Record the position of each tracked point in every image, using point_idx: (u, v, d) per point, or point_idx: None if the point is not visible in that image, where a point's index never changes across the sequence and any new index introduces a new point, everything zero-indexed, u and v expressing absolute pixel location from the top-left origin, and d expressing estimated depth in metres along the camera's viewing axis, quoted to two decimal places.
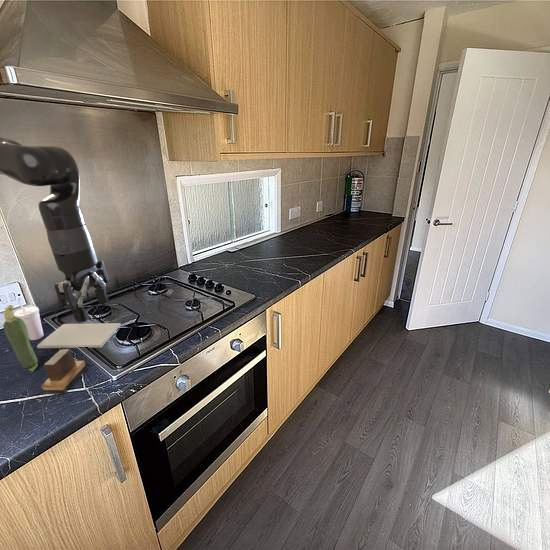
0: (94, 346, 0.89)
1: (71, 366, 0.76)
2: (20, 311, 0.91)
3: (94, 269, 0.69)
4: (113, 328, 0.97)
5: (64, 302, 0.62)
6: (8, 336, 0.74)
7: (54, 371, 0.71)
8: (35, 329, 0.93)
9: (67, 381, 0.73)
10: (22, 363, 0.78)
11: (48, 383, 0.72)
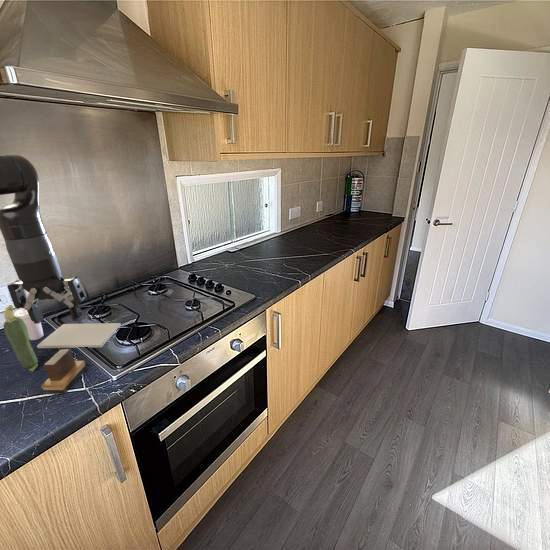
0: (94, 346, 0.89)
1: (71, 366, 0.76)
2: (20, 311, 0.91)
3: (55, 285, 0.64)
4: (113, 328, 0.97)
5: (22, 298, 0.67)
6: (8, 336, 0.74)
7: (54, 371, 0.71)
8: (35, 329, 0.93)
9: (67, 381, 0.73)
10: (22, 363, 0.78)
11: (48, 383, 0.72)
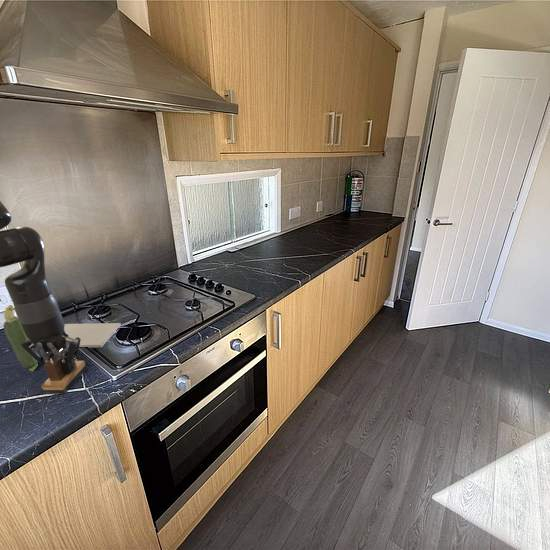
0: (94, 346, 0.89)
1: None
2: None
3: (58, 340, 0.70)
4: (113, 328, 0.97)
5: None
6: (8, 336, 0.74)
7: (54, 371, 0.71)
8: None
9: (67, 381, 0.73)
10: (22, 363, 0.78)
11: (48, 383, 0.72)
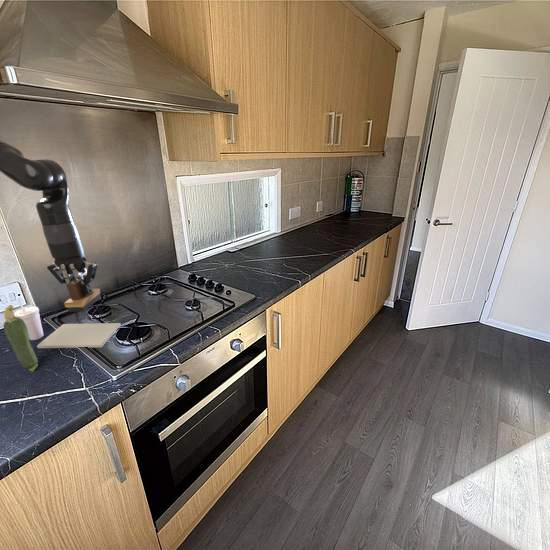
0: (94, 346, 0.89)
1: None
2: (20, 311, 0.91)
3: (79, 262, 0.81)
4: (113, 328, 0.97)
5: None
6: (8, 336, 0.74)
7: (75, 290, 0.82)
8: (35, 329, 0.93)
9: (86, 301, 0.84)
10: (22, 363, 0.78)
11: (69, 301, 0.83)
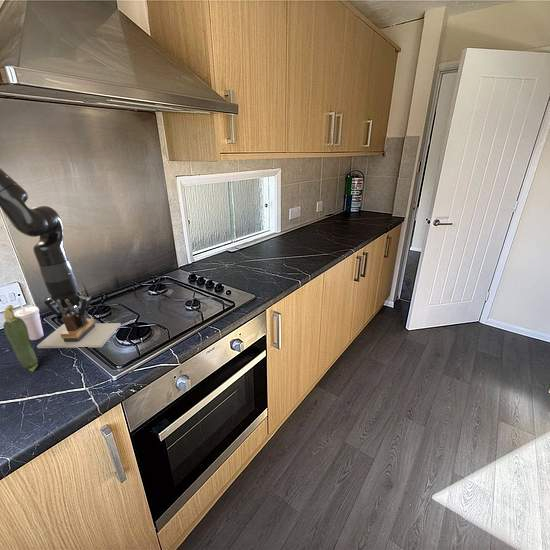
0: (94, 346, 0.89)
1: None
2: (20, 311, 0.91)
3: (73, 297, 0.88)
4: (113, 328, 0.97)
5: None
6: (8, 336, 0.74)
7: (70, 323, 0.89)
8: (35, 329, 0.93)
9: (80, 332, 0.91)
10: (22, 363, 0.78)
11: (65, 332, 0.90)
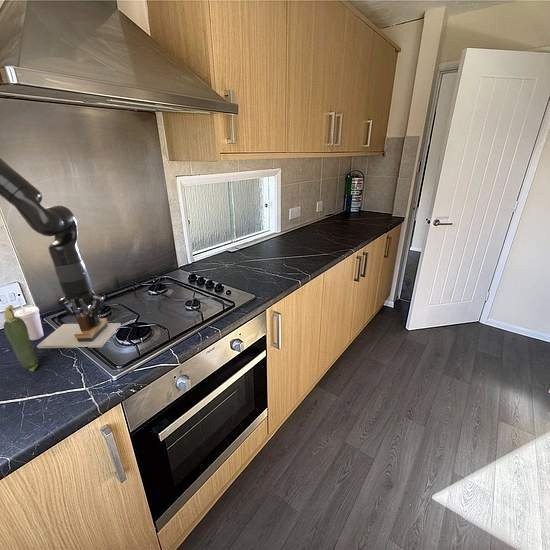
0: (94, 346, 0.89)
1: None
2: (20, 311, 0.91)
3: (87, 297, 0.87)
4: (113, 328, 0.97)
5: None
6: (8, 336, 0.74)
7: (84, 323, 0.89)
8: (35, 329, 0.93)
9: (94, 331, 0.91)
10: (22, 363, 0.78)
11: (79, 332, 0.89)
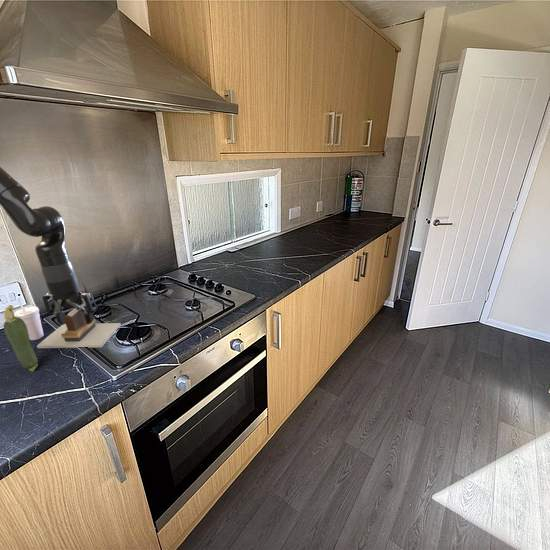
0: (94, 346, 0.89)
1: (84, 321, 0.94)
2: (20, 311, 0.91)
3: (75, 298, 0.88)
4: (113, 328, 0.97)
5: (52, 305, 0.91)
6: (8, 336, 0.74)
7: (71, 322, 0.89)
8: (35, 329, 0.93)
9: (81, 331, 0.91)
10: (22, 363, 0.78)
11: (66, 332, 0.90)
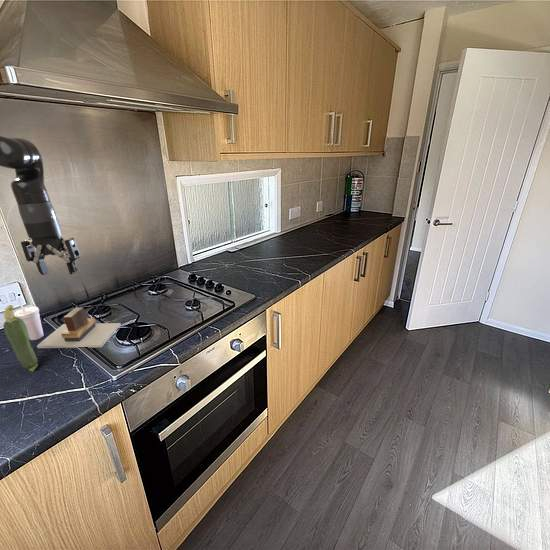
0: (94, 346, 0.89)
1: (84, 321, 0.94)
2: (20, 311, 0.91)
3: (56, 243, 0.81)
4: (113, 328, 0.97)
5: (33, 254, 0.84)
6: (8, 336, 0.74)
7: (71, 322, 0.89)
8: (35, 329, 0.93)
9: (81, 331, 0.91)
10: (22, 363, 0.78)
11: (66, 332, 0.90)
